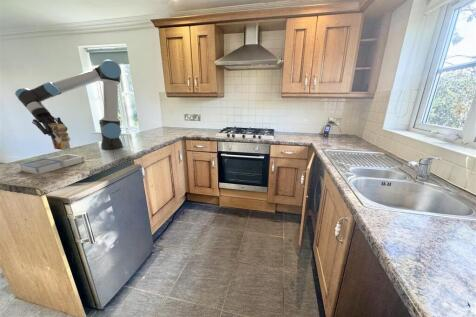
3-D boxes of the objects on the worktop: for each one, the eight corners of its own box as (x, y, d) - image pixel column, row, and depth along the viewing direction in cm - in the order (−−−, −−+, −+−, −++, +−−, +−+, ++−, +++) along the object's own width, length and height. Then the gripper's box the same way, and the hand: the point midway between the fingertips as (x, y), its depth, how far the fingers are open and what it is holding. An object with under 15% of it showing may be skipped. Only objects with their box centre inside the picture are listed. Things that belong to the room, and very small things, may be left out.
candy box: (71, 148, 120) (64, 124, 115) (63, 150, 116) (56, 125, 111) (62, 147, 123) (55, 122, 118) (54, 148, 119) (46, 123, 114)
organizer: (69, 158, 130) (68, 152, 128) (84, 161, 125) (83, 155, 124) (21, 170, 108) (19, 163, 107) (37, 174, 104) (35, 167, 102)
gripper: (54, 114, 126) (78, 141, 126) (18, 117, 110) (45, 148, 110) (57, 106, 122) (81, 134, 122) (21, 107, 107) (49, 140, 107)
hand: (64, 141), depth 116 cm, fingers closed on candy box, 4 cm apart
